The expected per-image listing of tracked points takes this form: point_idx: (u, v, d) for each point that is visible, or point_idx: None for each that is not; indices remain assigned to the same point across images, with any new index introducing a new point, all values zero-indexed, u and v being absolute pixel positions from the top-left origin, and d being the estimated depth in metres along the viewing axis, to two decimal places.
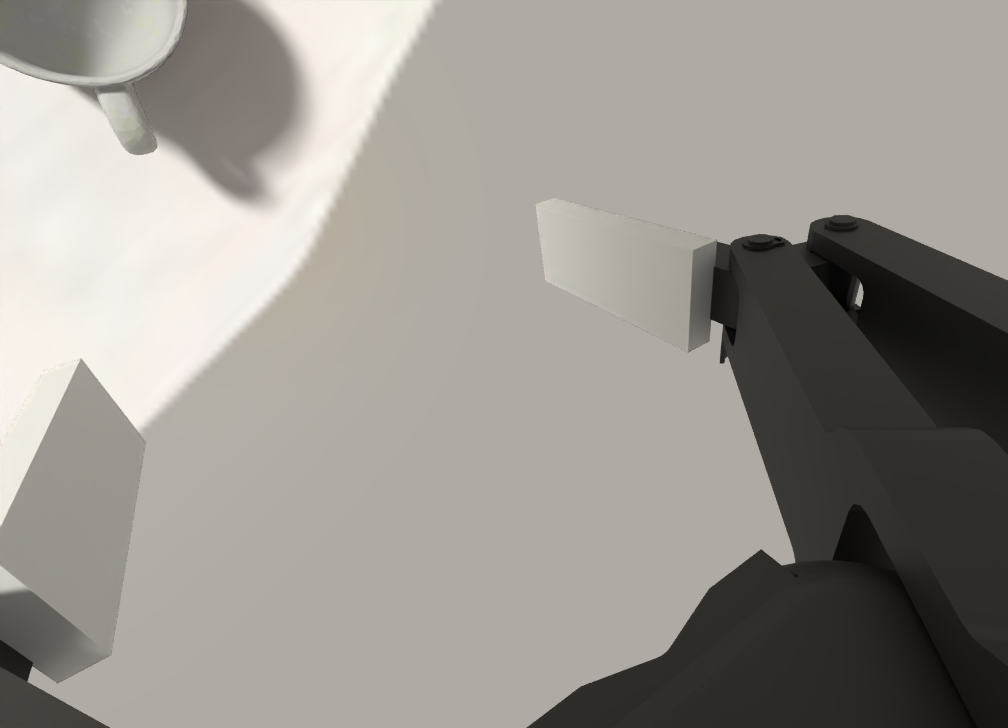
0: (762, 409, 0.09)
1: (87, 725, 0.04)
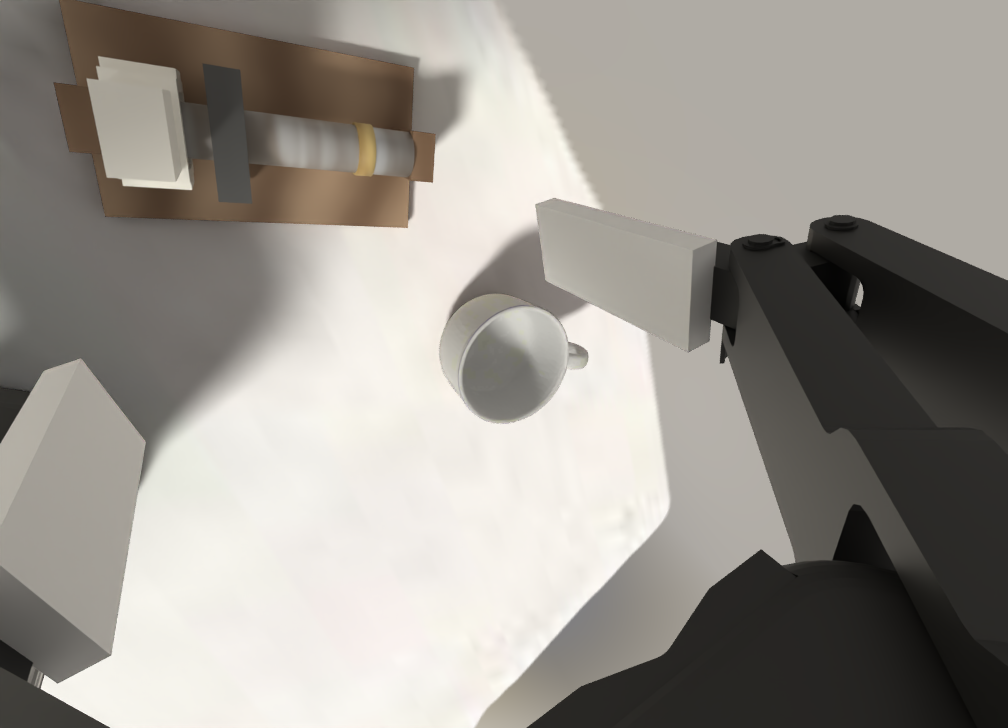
0: (762, 409, 0.09)
1: (87, 725, 0.04)
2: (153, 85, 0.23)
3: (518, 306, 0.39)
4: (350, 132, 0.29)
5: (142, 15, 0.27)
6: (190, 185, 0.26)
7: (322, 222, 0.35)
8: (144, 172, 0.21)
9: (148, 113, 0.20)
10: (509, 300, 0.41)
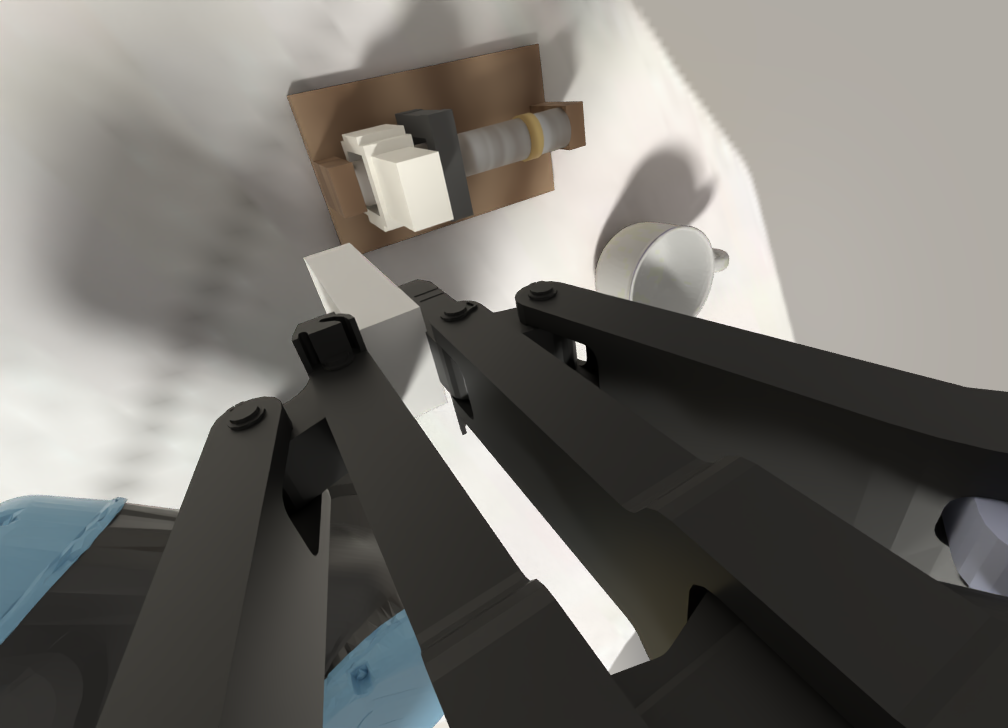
0: (535, 482, 0.08)
1: (437, 458, 0.07)
2: (398, 146, 0.29)
3: (668, 230, 0.43)
4: (520, 126, 0.34)
5: (342, 85, 0.32)
6: None
7: (491, 209, 0.41)
8: (435, 219, 0.27)
9: (432, 173, 0.26)
10: (654, 227, 0.45)
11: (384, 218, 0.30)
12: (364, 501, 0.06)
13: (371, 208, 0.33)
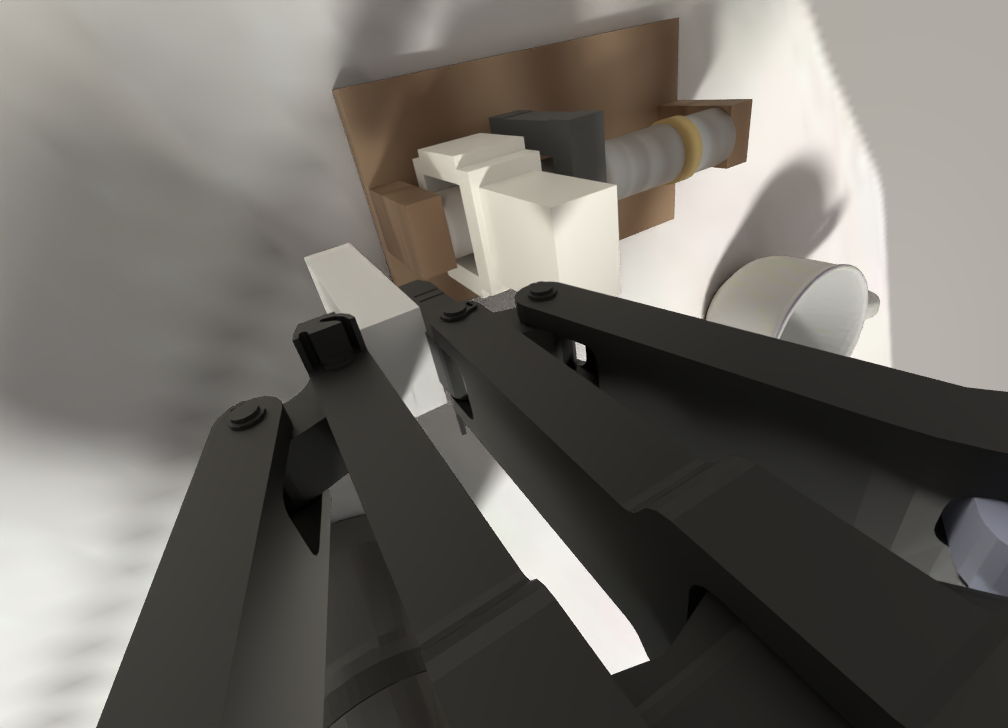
0: (535, 482, 0.08)
1: (438, 458, 0.07)
2: (519, 170, 0.18)
3: (825, 272, 0.32)
4: (672, 136, 0.23)
5: (416, 75, 0.21)
6: None
7: None
8: None
9: (603, 222, 0.15)
10: (798, 265, 0.34)
11: (488, 281, 0.19)
12: (364, 501, 0.06)
13: None
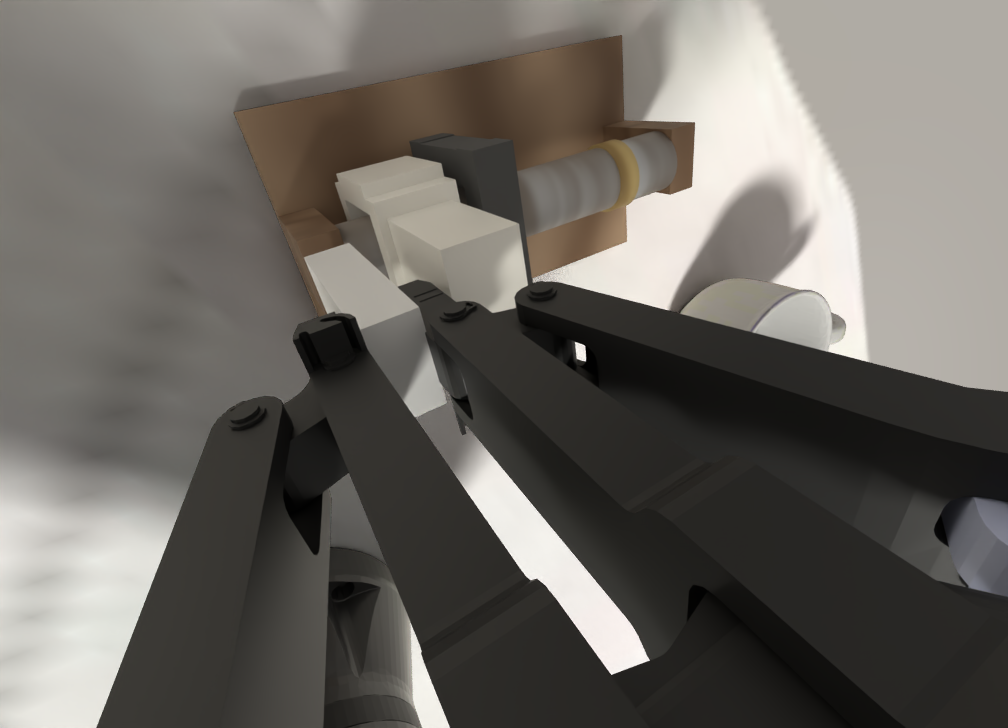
0: (534, 483, 0.08)
1: (438, 458, 0.07)
2: (434, 200, 0.17)
3: (784, 298, 0.31)
4: (606, 162, 0.22)
5: (326, 96, 0.20)
6: None
7: (542, 271, 0.28)
8: None
9: (506, 263, 0.14)
10: (758, 290, 0.33)
11: None
12: (365, 501, 0.06)
13: None
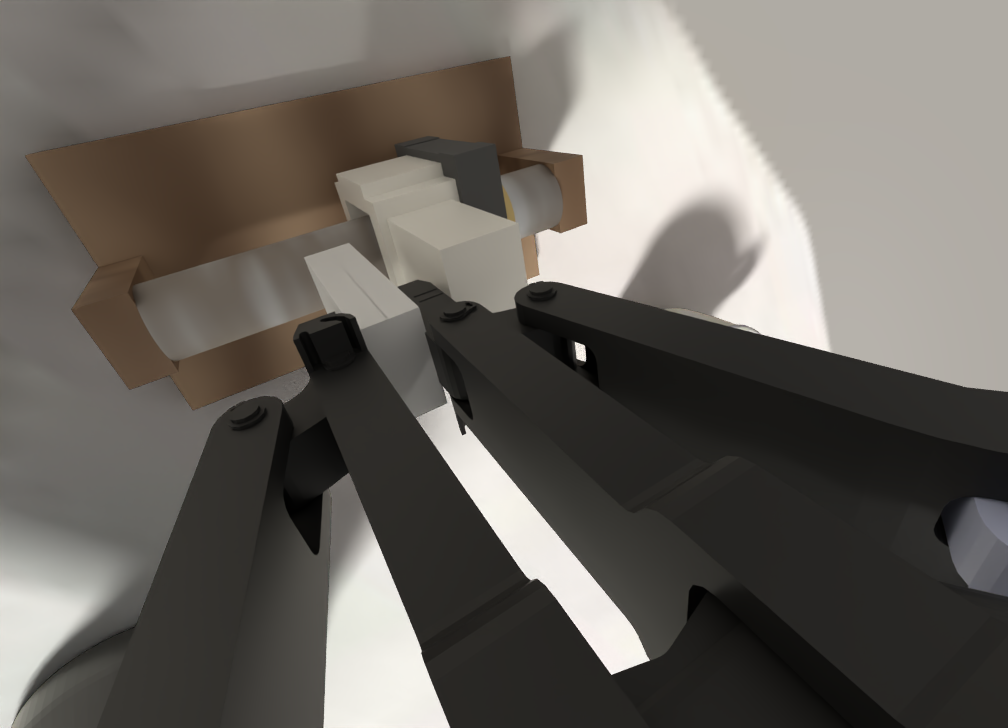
0: (534, 483, 0.08)
1: (438, 458, 0.07)
2: (433, 199, 0.17)
3: None
4: None
5: (142, 134, 0.17)
6: None
7: None
8: None
9: (505, 263, 0.14)
10: None
11: None
12: (365, 500, 0.06)
13: None
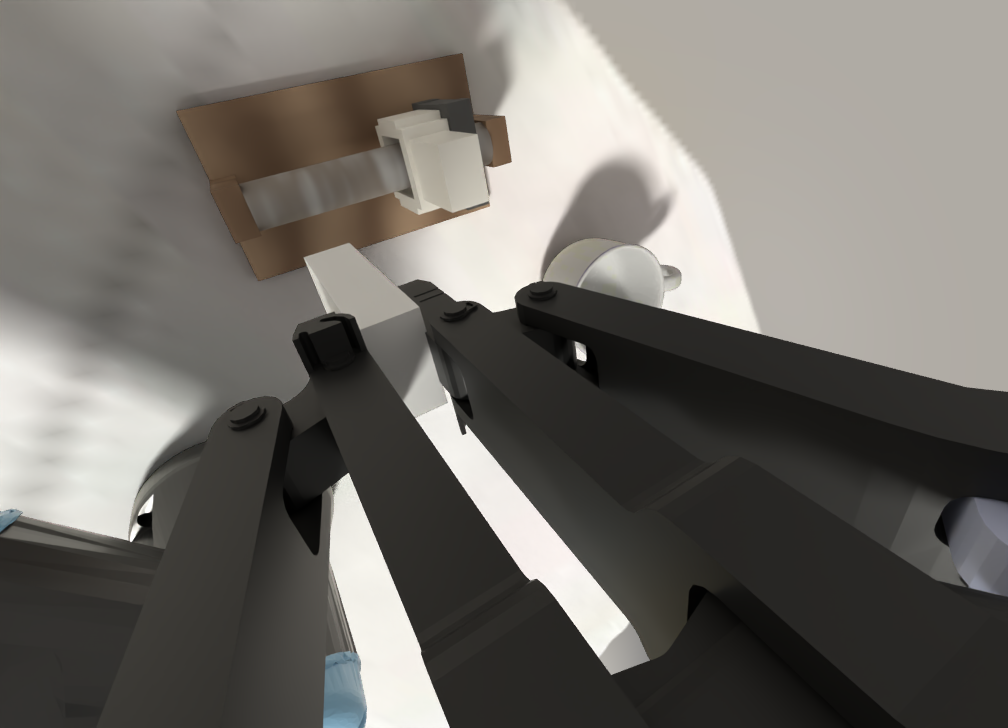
0: (534, 483, 0.08)
1: (438, 458, 0.07)
2: (434, 130, 0.29)
3: (610, 249, 0.41)
4: None
5: (238, 100, 0.30)
6: None
7: (419, 227, 0.39)
8: (472, 200, 0.28)
9: (471, 155, 0.27)
10: (597, 245, 0.43)
11: (419, 201, 0.31)
12: (364, 501, 0.06)
13: (403, 192, 0.34)
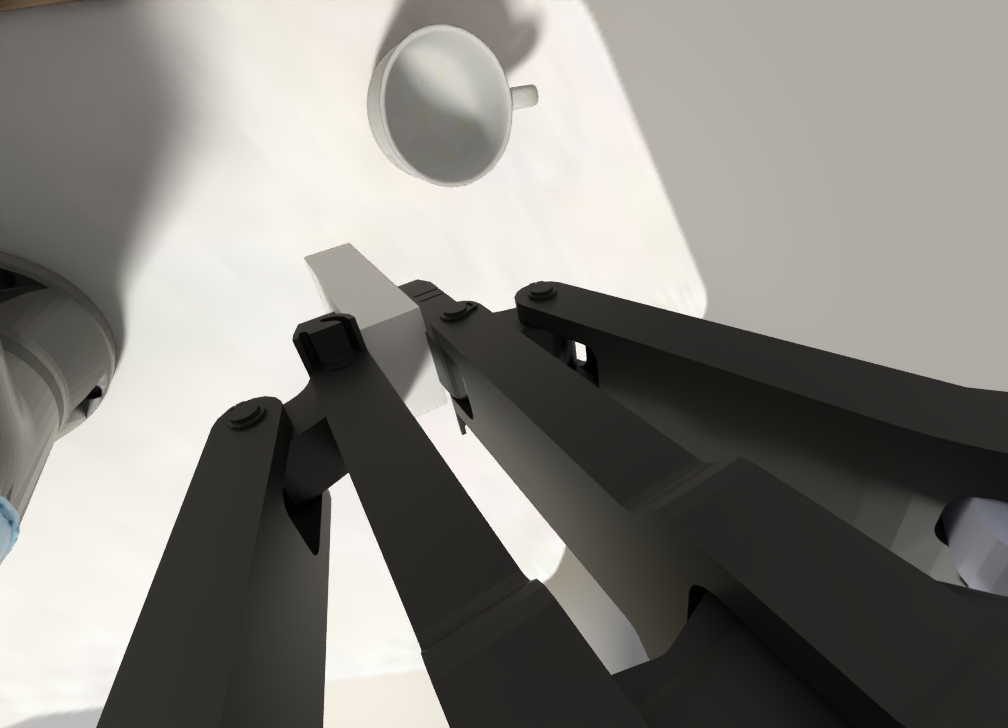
0: (534, 482, 0.08)
1: (438, 458, 0.07)
2: None
3: (425, 27, 0.34)
4: None
5: None
6: None
7: None
8: None
9: None
10: None
11: None
12: (365, 501, 0.06)
13: None
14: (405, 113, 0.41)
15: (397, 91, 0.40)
